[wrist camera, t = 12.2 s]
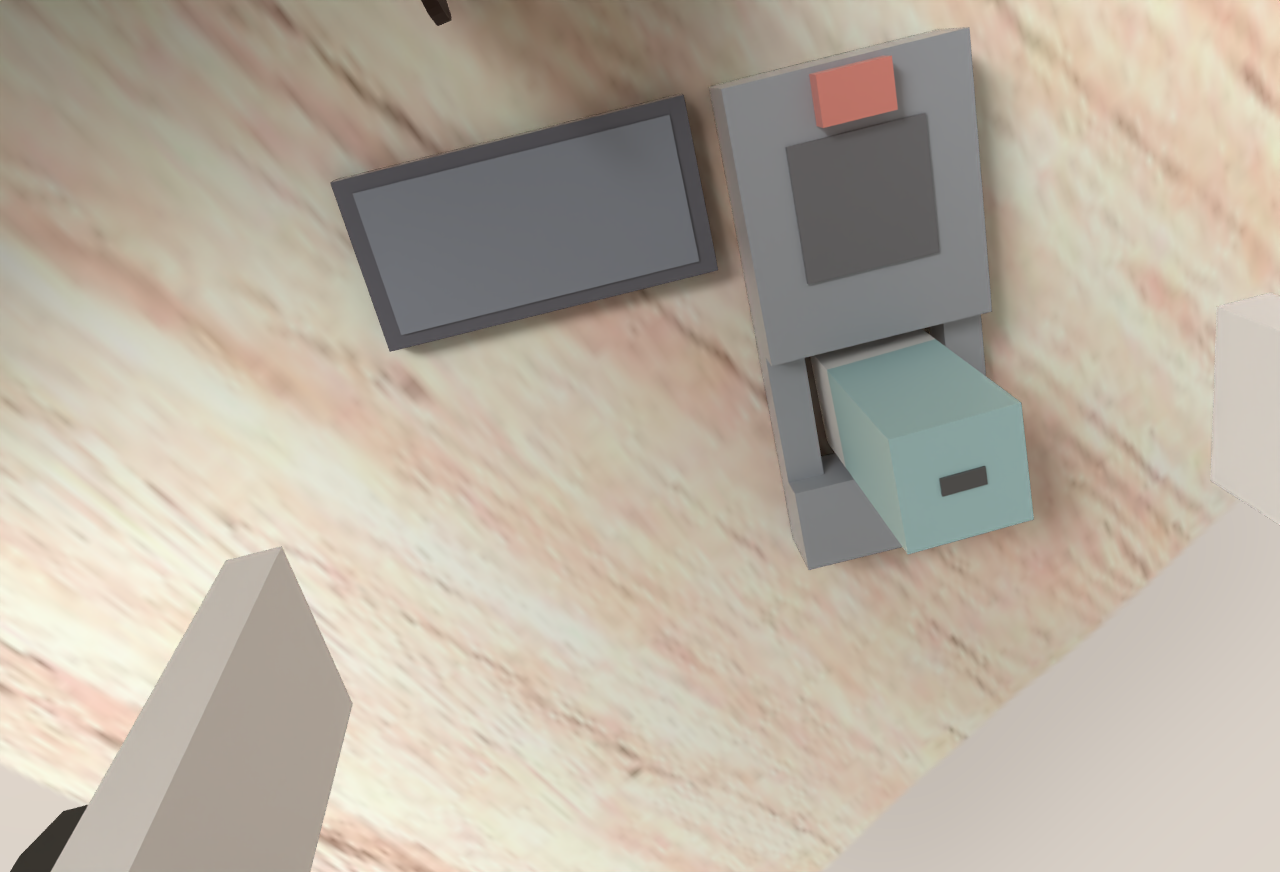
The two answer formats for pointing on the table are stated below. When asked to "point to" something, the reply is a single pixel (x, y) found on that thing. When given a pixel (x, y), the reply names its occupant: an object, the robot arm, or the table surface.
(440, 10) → the coffee mug
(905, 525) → the teal rectangular block
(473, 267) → the phone
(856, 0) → the table surface
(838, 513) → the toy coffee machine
